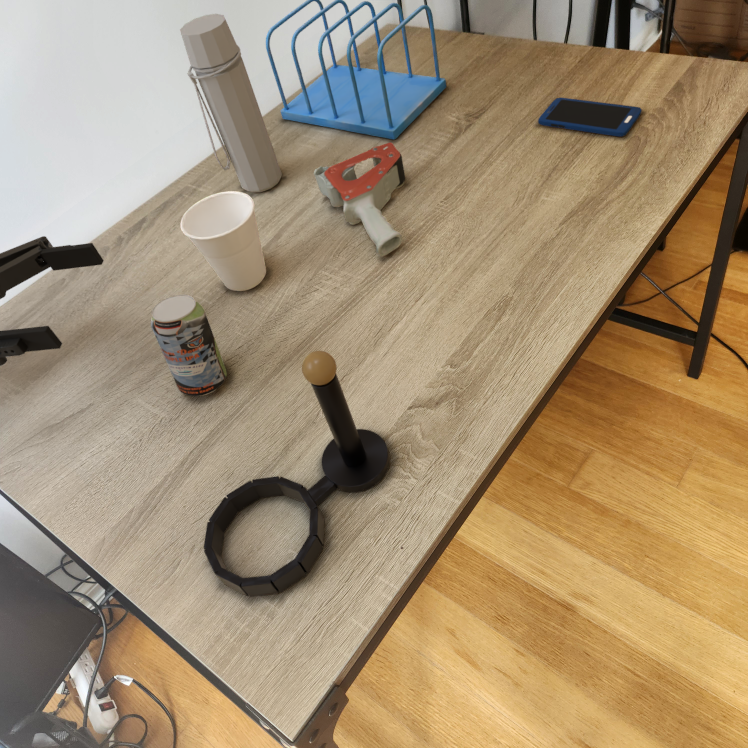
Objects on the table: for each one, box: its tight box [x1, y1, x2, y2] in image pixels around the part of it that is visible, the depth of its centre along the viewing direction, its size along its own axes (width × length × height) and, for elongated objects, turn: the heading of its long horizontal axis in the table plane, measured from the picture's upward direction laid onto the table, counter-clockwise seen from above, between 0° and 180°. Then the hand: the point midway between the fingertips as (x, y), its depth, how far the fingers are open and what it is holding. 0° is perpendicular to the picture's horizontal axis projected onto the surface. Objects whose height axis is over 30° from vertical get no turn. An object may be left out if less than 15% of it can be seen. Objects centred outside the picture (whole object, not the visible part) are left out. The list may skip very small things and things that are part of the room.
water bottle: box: [179, 13, 283, 194], centre depth 97 cm, size 9×8×25 cm
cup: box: [180, 190, 267, 292], centre depth 87 cm, size 10×10×11 cm
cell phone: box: [537, 97, 642, 138], centre depth 100 cm, size 7×14×1 cm, turn 56°
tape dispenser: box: [313, 141, 406, 257], centre depth 94 cm, size 18×5×20 cm
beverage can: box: [150, 294, 228, 397], centre depth 75 cm, size 6×7×12 cm
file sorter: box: [265, 0, 447, 140], centre depth 111 cm, size 25×17×15 cm
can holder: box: [203, 350, 391, 598], centre depth 59 cm, size 13×20×17 cm, turn 152°
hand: (77, 292), depth 72 cm, fingers open, 13 cm apart
